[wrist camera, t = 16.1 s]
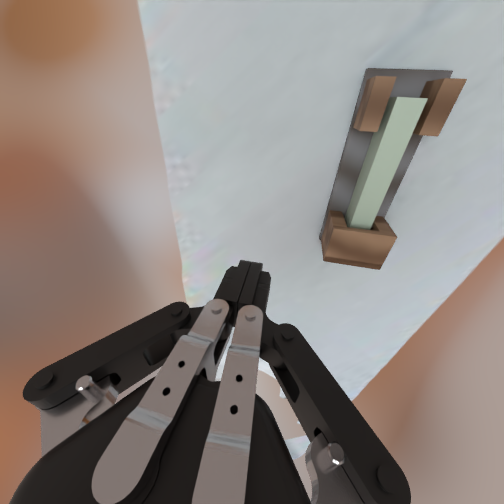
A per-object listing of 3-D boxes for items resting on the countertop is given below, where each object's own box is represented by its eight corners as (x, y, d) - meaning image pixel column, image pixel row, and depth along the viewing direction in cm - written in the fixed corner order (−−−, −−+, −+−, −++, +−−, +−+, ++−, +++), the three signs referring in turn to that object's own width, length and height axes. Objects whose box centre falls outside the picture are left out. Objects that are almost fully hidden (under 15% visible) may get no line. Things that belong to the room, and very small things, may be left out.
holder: (366, 69, 25) (385, 58, 19) (448, 71, 24) (496, 61, 18) (319, 236, 39) (321, 260, 33) (369, 243, 38) (381, 270, 32)
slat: (385, 97, 25) (397, 96, 22) (412, 98, 25) (427, 98, 22) (338, 235, 37) (341, 248, 34) (355, 238, 37) (360, 250, 34)
